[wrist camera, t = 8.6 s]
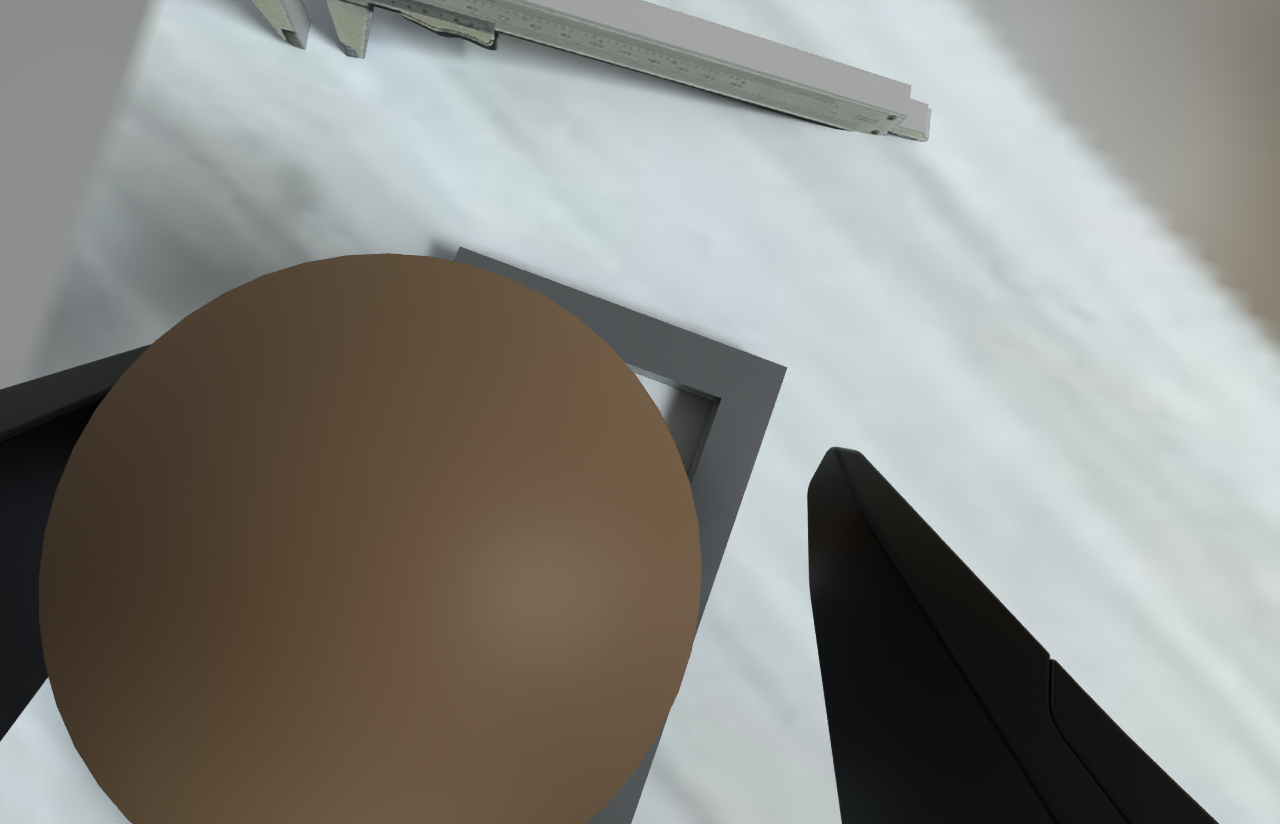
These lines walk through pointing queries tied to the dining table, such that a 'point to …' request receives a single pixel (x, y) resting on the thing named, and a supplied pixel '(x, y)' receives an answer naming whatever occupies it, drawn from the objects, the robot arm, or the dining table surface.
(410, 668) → the walnut pin
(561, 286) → the plate
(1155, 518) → the dining table surface
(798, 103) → the caliper
